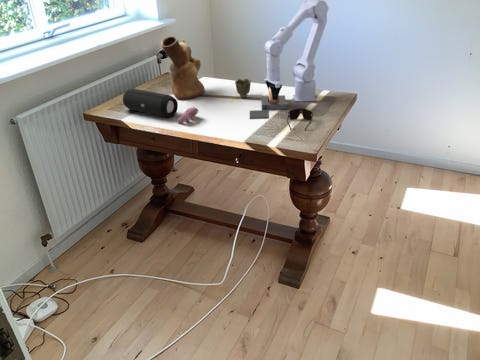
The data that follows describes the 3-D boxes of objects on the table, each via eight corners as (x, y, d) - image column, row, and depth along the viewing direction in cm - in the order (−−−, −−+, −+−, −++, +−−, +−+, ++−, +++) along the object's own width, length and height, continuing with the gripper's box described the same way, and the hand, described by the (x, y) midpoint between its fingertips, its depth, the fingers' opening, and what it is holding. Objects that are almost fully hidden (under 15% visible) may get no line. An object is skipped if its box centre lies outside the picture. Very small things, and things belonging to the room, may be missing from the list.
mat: (267, 111, 197) (267, 109, 197) (268, 118, 190) (268, 117, 190) (249, 111, 198) (249, 110, 197) (249, 118, 191) (249, 117, 191)
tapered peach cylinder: (276, 102, 205) (276, 83, 200) (279, 105, 201) (279, 86, 196) (267, 103, 204) (267, 84, 199) (270, 106, 200) (270, 87, 195)
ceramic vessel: (211, 91, 222) (205, 30, 206) (184, 106, 207) (176, 41, 191) (186, 86, 230) (179, 27, 214) (158, 101, 214) (149, 38, 198)
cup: (251, 94, 216) (251, 78, 212) (250, 99, 210) (250, 83, 206) (236, 94, 217) (235, 78, 213) (235, 99, 211) (234, 83, 207)
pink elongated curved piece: (183, 128, 190) (187, 116, 185) (175, 122, 190) (179, 110, 186) (197, 119, 197) (201, 107, 192) (189, 114, 197) (193, 102, 193)
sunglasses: (313, 119, 188) (313, 108, 185) (310, 134, 179) (311, 124, 176) (288, 117, 190) (288, 107, 187) (285, 133, 181) (284, 122, 178)
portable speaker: (123, 112, 204) (119, 91, 199) (137, 104, 212) (134, 84, 206) (166, 121, 193) (163, 100, 188) (180, 113, 200) (177, 92, 195)
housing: (284, 100, 207) (284, 95, 206) (286, 109, 198) (286, 104, 196) (261, 101, 208) (261, 96, 206) (261, 110, 198) (261, 105, 197)
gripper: (260, 64, 199) (260, 93, 206) (269, 74, 187) (269, 104, 194) (275, 63, 200) (275, 91, 207) (284, 72, 188) (284, 102, 195)
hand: (273, 97), depth 201 cm, fingers closed on tapered peach cylinder, 4 cm apart
